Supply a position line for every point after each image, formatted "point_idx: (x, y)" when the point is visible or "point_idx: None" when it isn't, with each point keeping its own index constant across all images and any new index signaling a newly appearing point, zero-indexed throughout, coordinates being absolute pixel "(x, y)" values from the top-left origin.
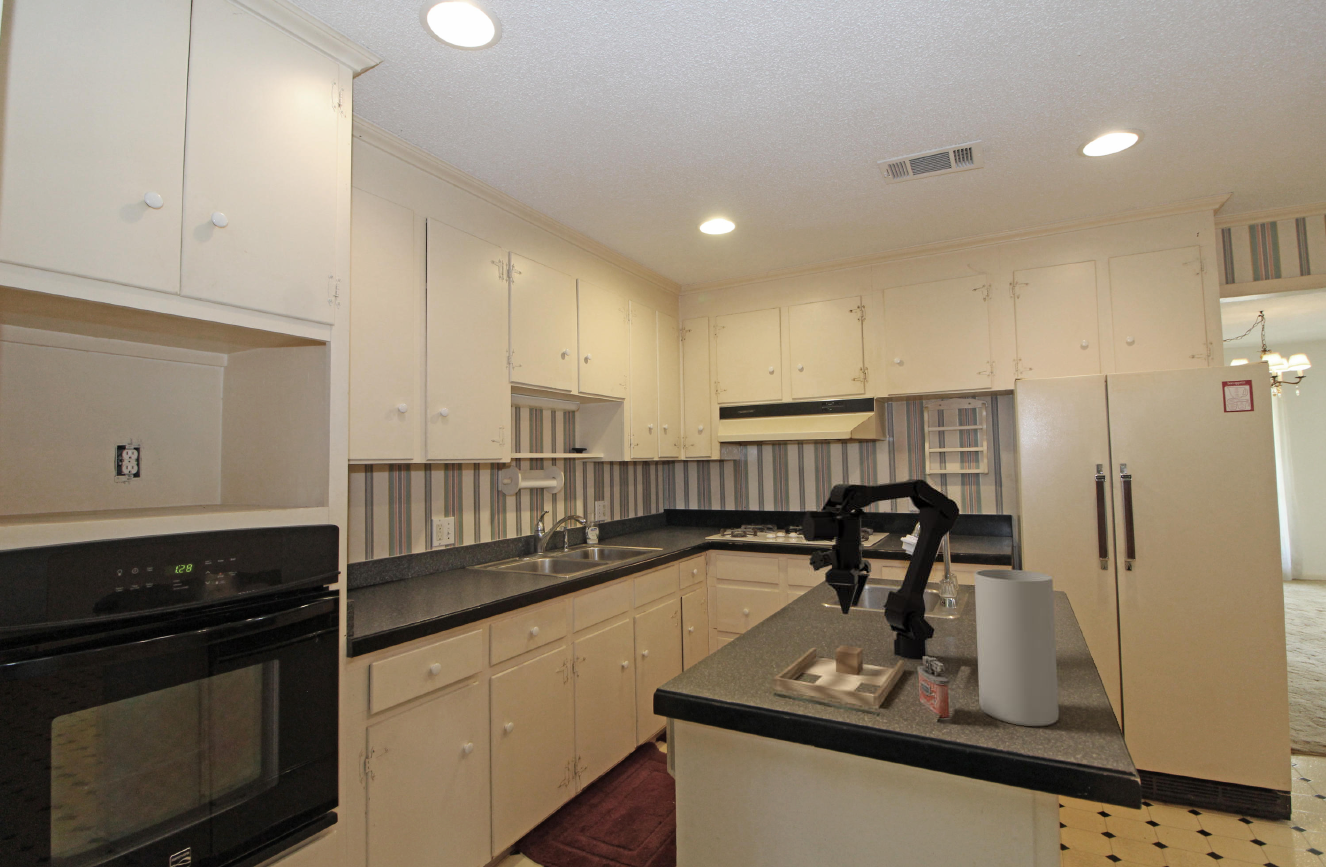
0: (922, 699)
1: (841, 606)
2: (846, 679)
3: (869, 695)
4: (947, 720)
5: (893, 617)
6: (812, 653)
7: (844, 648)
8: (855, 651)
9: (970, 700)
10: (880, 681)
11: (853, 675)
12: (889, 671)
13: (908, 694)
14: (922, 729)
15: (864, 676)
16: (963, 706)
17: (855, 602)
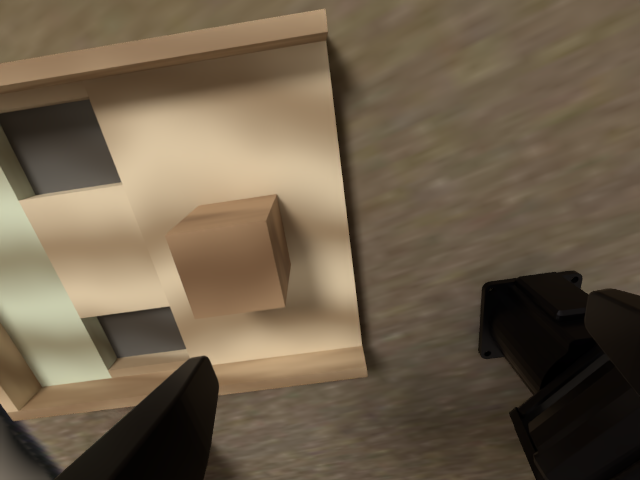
0: None
1: (136, 416)
2: (157, 263)
3: (2, 404)
4: None
5: (598, 421)
6: (266, 43)
7: (226, 252)
8: (220, 303)
9: (296, 465)
10: (220, 340)
11: None
12: (326, 329)
13: None
14: (74, 448)
15: None
16: (252, 464)
17: (611, 337)
